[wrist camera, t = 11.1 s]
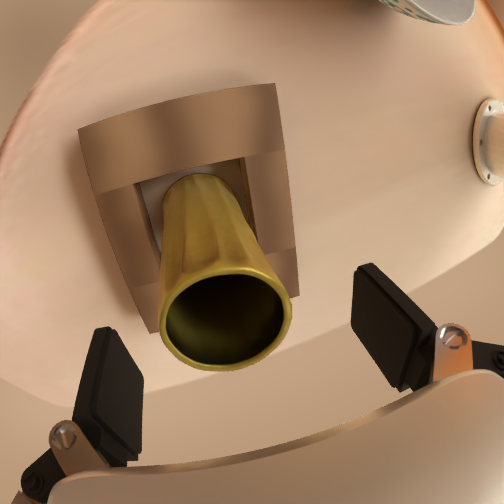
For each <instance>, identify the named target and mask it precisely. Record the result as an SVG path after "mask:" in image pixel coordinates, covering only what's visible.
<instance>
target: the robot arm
mask: <svg viewBox="0 0 504 504" xmlns="http://www.w3.org/2000/svg"><path fill="white" fill-rule="evenodd" d="M473 153H474V160H475V164H476V168H477V171H478V173H479V175H480V177H481V179H482V180H483V181H484V182H486V183H488V184H490V185H498V184H499V183H501V182H502V181H503V180H504V104H503V103H502V102H501V101H499V100H497V99H492V98H491V99H487V100H485V101H484V102H483V103H482V105H481V106H480V108H479V110H478V112H477V115H476V119H475V124H474V131H473ZM351 327H352V329H353V331H354V332H355V333H356V335H357V337H358V338H359V339H360V341H361V342H362V344H363V345H364V346H365V348H366V349H367V351H368V352H369V354H370V355H371V357H372V358H373V360H374V361H375V363H376V364H377V366H378V367H379V368H380V370H381V372H382V373H383V374H384V375H385V377H386V379H387V380H388V382H389V383H390V385H391V386H392V387H393V388H395V387H396V388H397V389H398V391H399V392H402V391H404V390H406V389H408V388H411V389H412V391H413V393H411V394H409V395H407V396H405V397H403V398H401V399H399V400H397V401H394V402H393V403H390V404H388V405H386V406H384V407H382V408H379V409H377V410H375V411H373V412H371V413H368V414H366V415H363V416H361V417H359V418H356V419H354V420H351V421H349V422H346V423H344V424H341V425H338V426H336V427H333V428H330V429H328V430H325V431H322V432H319V433H316V434H313V435H310V436H307V437H303V438H300V439H297V440H294V441H290V442H287V443H283V444H279V445H276V446H272V447H268V448H264V449H260V450H256V451H251V452H247V453H242V454H237V455H232V456H226V457H221V458H215V459H209V460H202V461H195V462H187V463H177V464H166V465H155V466H139V467H127V461H138V454H140V453H141V451H142V409H143V389H144V378H143V375H142V373H141V371H140V370H139V368H138V367H137V365H136V363H135V362H134V360H133V359H132V357H131V355H130V354H129V352H128V350H127V349H126V347H125V345H124V344H123V342H122V340H121V338H120V337H119V335H118V333H117V331H116V330H115V329H111V327H109V326H107V327H102V328H97V329H95V331H94V334H93V337H92V340H91V344H90V347H89V350H88V354H87V358H86V361H85V365H84V369H83V372H82V376H81V380H80V384H79V389H78V393H77V397H76V402H75V407H74V411H73V416H72V421H71V420H64V421H61V422H59V423H57V424H56V425H55V426H54V427H53V428H52V430H51V431H50V435H49V444H50V447H51V448H50V449H49V450H48V451H46V452H45V453H44V454H43V455H42V456H41V457H39V458H38V459H37V460H36V461H35V462H34V463H33V464H31V465H30V467H28V468H27V469H26V470H25V471H24V472H23V474H22V477H21V487H22V490H23V491H22V492H21V491H18V492H17V494H16V496H15V498H14V499H13V501H12V503H11V504H504V346H502V345H496V344H489V343H483V342H478V341H472V340H471V337H470V334H469V332H468V331H467V330H466V329H465V328H464V327H462V326H460V325H458V324H454V323H453V324H451V323H450V324H449V323H448V324H444V325H442V326H441V327H439V328H437V326H435V323H434V322H433V321H432V320H431V319H430V318H429V317H428V316H427V315H426V314H425V313H424V312H423V311H422V310H421V309H420V308H419V307H418V306H417V305H416V304H415V303H414V302H413V301H412V300H411V299H410V298H409V297H408V296H407V295H406V294H405V293H404V292H403V291H402V290H401V289H400V288H399V287H398V286H397V285H396V284H395V283H394V282H393V281H392V280H390V279H389V278H388V277H387V276H386V275H385V274H384V273H383V272H382V271H381V270H380V269H379V268H378V267H377V266H376V265H374V264H373V263H368V264H364V265H361V266H359V267H358V268H357V271H355V272H354V280H353V298H352V311H351Z"/></svg>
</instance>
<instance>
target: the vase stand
mask: <svg viewBox="0 0 504 504" xmlns="http://www.w3.org/2000/svg"><path fill="white" fill-rule="evenodd" d="M78 134H79V139H80V143H81V147H82V152H83V156H84V160H85V163H86V167H87V171H88V175H89V178H90V182H91V185H92V188H93V192H94V195H95V198H96V202H97V205H98V208H99V211H100V214H101V217H102V220H103V223H104V226H105V229H106V232H107V234H108V237H109V240H110V243H111V245H112V248H113V251H114V253H115V256H116V259H117V261H118V264H119V266H120V269H121V271H122V274H123V276H124V278H125V281H126V283H127V285H128V288H129V290H130V292H131V295H132V297H133V299H134V301H135V304H136V306H137V308H138V310H139V312H140V315H141V317H142V319H143V321H144V323H145V325H146V327H147V329H148V331H149V333H150V334H151V333H156V332H159V329H158V303H159V279H160V267H161V255H160V252H159V249H158V245H157V242H156V239H155V236H154V233H153V229H152V226H151V223H150V220H149V216H148V213H147V209H146V206H145V202H144V199H143V195H142V191H141V188H140V184H139V182H141V181H144V180H148V179H151V178H155V177H159V176H162V175H166V174H170V173H174V172H178V171H182V170H186V169H190V168H194V167H199V166H203V165H207V164H212V163H217V162H221V161H226V160H231V159H236V158H239V163H240V169H241V175H242V181H243V187H244V193H245V198H246V204H247V210H248V216H249V222H250V228H251V229H252V231H253V233H254V235H255V237H256V240H257V243H258V245H259V246H260V248H261V250H262V251H263V253H264V255H265V256H266V258H267V260H268V261H269V263H270V265H271V266H272V268H273V270H274V272H275V273H276V275H277V277H278V279H279V280H280V282H281V283H282V285H283V286H284V288H285V290H286V292H287V294H288V296H289V298H293V297H296V296H300V295H299V282H298V269H297V258H296V246H295V236H294V226H293V216H292V206H291V197H290V188H289V180H288V171H287V163H286V155H285V148H284V140H283V133H282V126H281V119H280V112H279V105H278V98H277V92H276V86H275V83H271V84H261V85H253V86H245V87H237V88H231V89H224V90H218V91H213V92H207V93H202V94H197V95H192V96H187V97H182V98H178V99H174V100H170V101H165V102H161V103H158V104H154V105H150V106H146V107H143V108H139V109H136V110H132V111H129V112H126V113H123V114H120V115H116V116H113V117H110V118H107V119H105V120H102V121H99V122H96V123H93V124H91V125H88V126H85V127H83V128H80V129H78Z"/></svg>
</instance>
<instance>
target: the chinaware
mask: <svg viewBox="0 0 504 504" xmlns="http://www.w3.org/2000/svg"><path fill="white" fill-rule="evenodd" d="M378 1H379V2H381V3H383V4H384V5H386V6H388V7H390V8H392V9H394V10H396V11H398V12H400V13H402V14H405V15H407V16H410V17H413V18H416V19H420V20H423V21H427V22H432V23H438V24H445V25H462V24H465V23H467V22H468V21H469V20H470V19H471V18H472V16H473V13H474V10H475V0H378Z"/></svg>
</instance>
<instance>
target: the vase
mask: <svg viewBox="0 0 504 504" xmlns="http://www.w3.org/2000/svg"><path fill="white" fill-rule="evenodd" d="M162 217H163V223H164V230H163V238H162V255H161V267H160V279H159V303H158V329H159V332H160V336H161V338H162V341H163V343H164V344H165V346H166V347H167V348H168V349H169V351H170V352H171V353H172V354H173V355H174V356H175V357H176V358H177V359H179V360H180V361H182V362H183V363H185V364H187V365H189V366H191V367H193V368H196V369H200V370H204V371H234V370H238V369H242V368H245V367H248V366H250V365H253V364H254V363H257V362H259V361H260V360H262V359H263V358H265V357H266V356H267V355H269V354H270V353H271V352H272V351H273V350H275V349H276V348H277V347H278V345H279V344H280V343H281V342H282V340H283V339H284V337H285V335H286V333H287V331H288V329H289V326H290V323H291V319H292V304H291V301H290V298H289V296H288V294H287V292H286V290H285V288H284V286H283V285H282V283H281V282H280V280H279V279H278V277H277V275H276V273H275V272H274V270H273V268H272V266H271V265H270V263H269V261H268V260H267V258H266V256H265V255H264V253H263V251H262V250H261V248H260V246H259V245H258V243H257V240H256V237H255V235H254V233H253V231H252V229H251V228H250V227H249V225H248V224H247V222H246V220H245V218H244V216H243V214H242V211H241V209H240V206H239V204H238V202H237V200H236V198H235V195H234V192H233V191H232V189H231V188H230V187H229V186H228V185H227V184H226V183H225V182H224V181H223V180H221V179H220V178H218V177H216V176H213V175H209V174H193V175H189V176H186V177H184V178H182V179H180V180H179V181H177V182H176V183H175V184H174V185H173V186H172V187H171V188H170V189H169V191H168V192H167V194H166V196H165V198H164V201H163V205H162Z"/></svg>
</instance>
